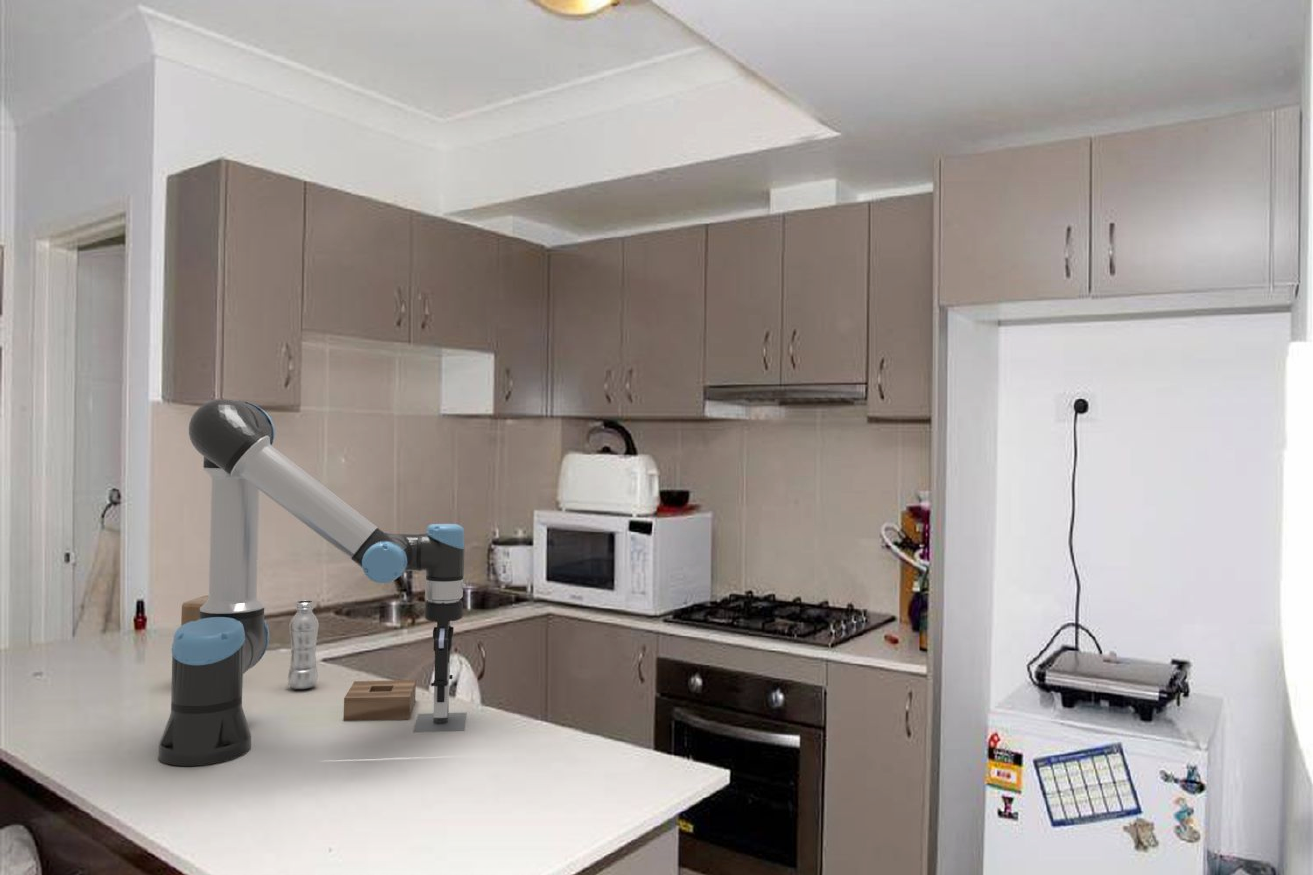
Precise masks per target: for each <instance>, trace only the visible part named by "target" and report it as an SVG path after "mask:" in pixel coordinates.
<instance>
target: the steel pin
mask: <svg viewBox="0 0 1313 875" xmlns="http://www.w3.org/2000/svg"><path fill="white" fill-rule="evenodd" d="M450 673H451V662H450V663H449V662H448V680H447V681H448V711H447V718H433V723H434V724H446V723H448V713H450V712H449V710H450V709H449V708H450V706H449V705H450V679H449V678H450V675H451V674H450ZM433 716H434V711H433Z"/></svg>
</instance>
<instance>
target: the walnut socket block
mask: <svg viewBox="0 0 1313 875" xmlns="http://www.w3.org/2000/svg"><path fill="white" fill-rule="evenodd" d="M416 684H417V680H416V679H408V680H406V679H404V680H402V679H399V680H354V681H353V683H352V684H351V686H350V688H349V689H348V690H347V693H346V694H345V696H344V697H343V721H344V722H347V721H348V722H349V721H350V722H351V721H352V722H353V721H355V722H357V721H390V720H391V721H393V720H398V721H399V720H410V718H411V715H412V712H413V709H414V706H415V703H416V686H417V685H416Z"/></svg>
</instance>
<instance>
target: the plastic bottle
mask: <svg viewBox="0 0 1313 875" xmlns="http://www.w3.org/2000/svg"><path fill="white" fill-rule="evenodd" d="M313 610H314V600H311V599H309V600H307V599H306V600H305V599H303V600H297V601H296V606H295V611H296V613H295V614H294V616H293V617H292V618H291V620H290V621H289V622H290V623H289V627H288V628H289V635H290V636H289V637H290V648H291V650H290V654H291V655H290V661H289V664H290V665H289V669H288V674H287V684H288V685H289V687H290V688H291V689H294V690H305V689H312V688H313V687H315V686H316V684H317V682H318V679H319V672H318V667H317V660H316V659H317V656H316V649H317V648H316V647H317V639H318V633H319V627H320V626H319V625H320V623H319V619H318V618H317V617H316V615H315V614H314V612H313Z"/></svg>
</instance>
